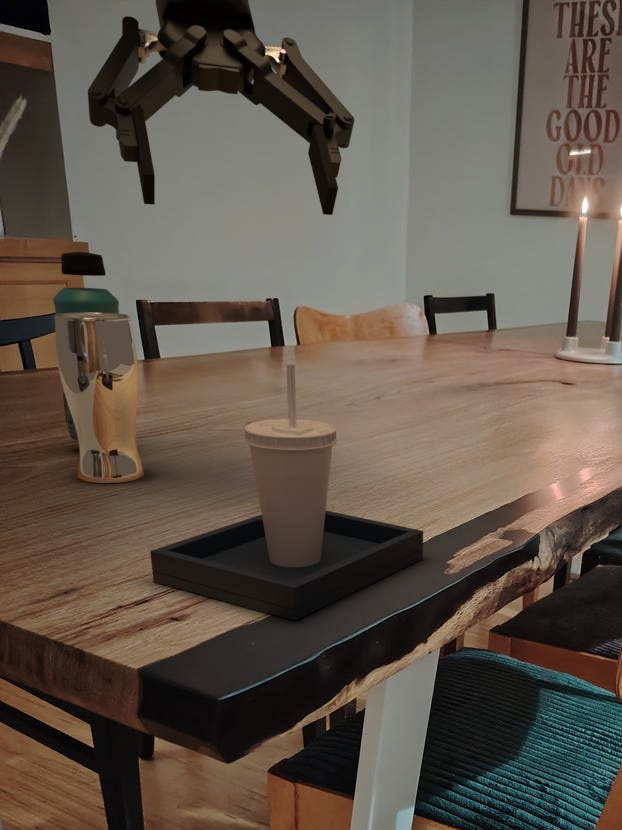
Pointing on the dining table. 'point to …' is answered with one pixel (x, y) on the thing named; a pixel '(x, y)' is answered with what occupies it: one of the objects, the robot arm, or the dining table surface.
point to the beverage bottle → (83, 299)
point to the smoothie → (292, 481)
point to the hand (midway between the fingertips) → (243, 196)
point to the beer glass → (101, 392)
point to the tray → (286, 586)
